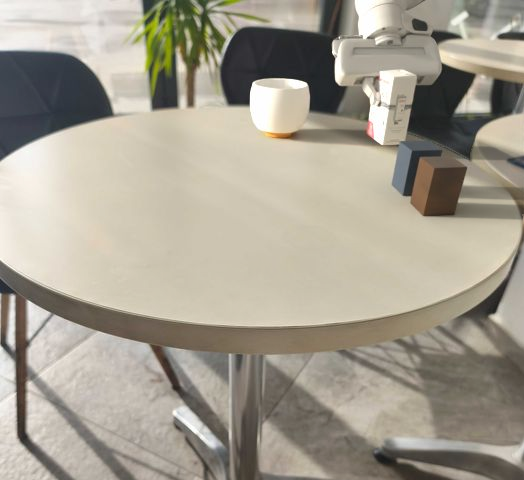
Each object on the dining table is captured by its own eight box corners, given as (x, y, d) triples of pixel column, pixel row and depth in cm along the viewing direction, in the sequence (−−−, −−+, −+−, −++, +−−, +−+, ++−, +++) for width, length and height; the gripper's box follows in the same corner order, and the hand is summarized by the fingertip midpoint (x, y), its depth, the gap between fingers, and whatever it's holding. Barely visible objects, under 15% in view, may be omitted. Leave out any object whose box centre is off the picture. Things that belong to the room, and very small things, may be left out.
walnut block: (439, 201, 78) (451, 155, 73) (454, 214, 74) (467, 167, 69) (409, 202, 77) (419, 156, 73) (423, 215, 73) (434, 168, 69)
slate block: (419, 183, 84) (429, 140, 79) (431, 194, 80) (442, 149, 76) (391, 184, 83) (399, 141, 79) (402, 195, 79) (411, 150, 75)
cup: (256, 143, 100) (257, 90, 94) (244, 127, 109) (244, 78, 103) (314, 141, 102) (319, 89, 96) (297, 125, 111) (300, 77, 105)
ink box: (365, 133, 101) (374, 67, 93) (387, 132, 101) (398, 67, 94) (381, 146, 94) (393, 75, 87) (405, 145, 95) (418, 75, 87)
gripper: (335, 22, 90) (343, 93, 89) (440, 23, 93) (450, 92, 91) (326, 47, 96) (334, 114, 95) (425, 47, 99) (434, 112, 98)
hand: (392, 103), depth 93 cm, fingers closed on ink box, 5 cm apart
